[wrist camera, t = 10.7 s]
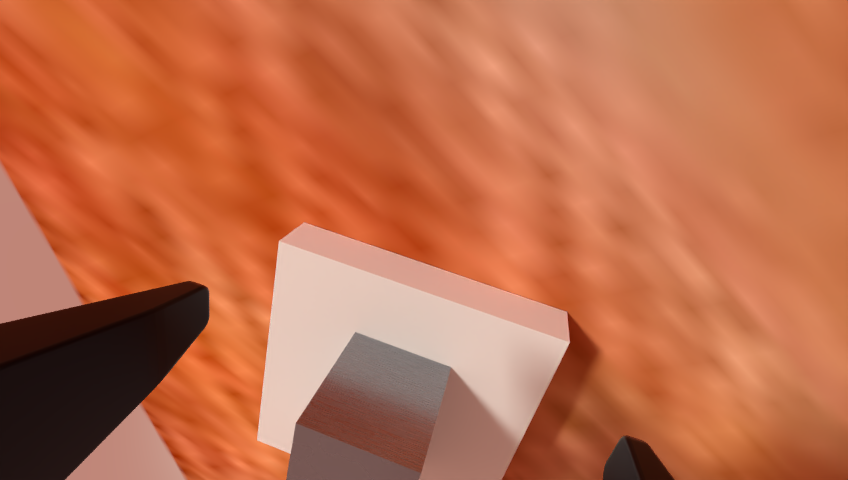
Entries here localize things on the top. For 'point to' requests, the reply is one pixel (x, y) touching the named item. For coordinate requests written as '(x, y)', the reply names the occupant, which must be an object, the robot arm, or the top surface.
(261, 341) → the top surface
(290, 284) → the board
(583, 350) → the top surface
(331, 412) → the block
